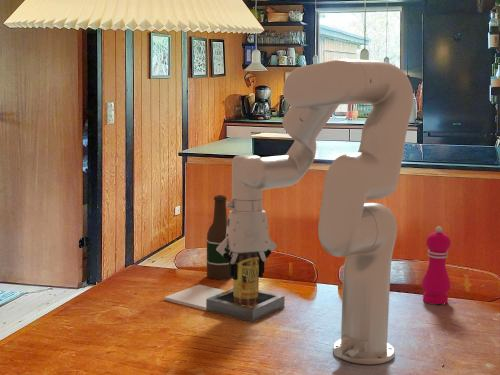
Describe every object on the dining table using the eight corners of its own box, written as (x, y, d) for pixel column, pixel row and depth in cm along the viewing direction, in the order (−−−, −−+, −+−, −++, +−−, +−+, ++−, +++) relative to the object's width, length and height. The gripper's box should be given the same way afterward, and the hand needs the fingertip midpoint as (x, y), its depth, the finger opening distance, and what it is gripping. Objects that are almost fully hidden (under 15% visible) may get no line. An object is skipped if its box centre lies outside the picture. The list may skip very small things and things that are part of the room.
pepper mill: (415, 301, 171) (419, 226, 169) (430, 295, 176) (433, 222, 174) (440, 307, 166) (444, 230, 163) (454, 301, 171) (459, 226, 168)
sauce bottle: (242, 308, 159) (242, 227, 156) (228, 301, 164) (227, 223, 161) (264, 303, 163) (264, 224, 160) (249, 296, 168) (249, 220, 165)
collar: (252, 322, 154) (252, 308, 153) (206, 310, 162) (206, 297, 161) (284, 307, 165) (284, 294, 165) (239, 296, 173) (239, 284, 173)
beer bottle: (222, 271, 198) (222, 192, 194) (238, 277, 192) (239, 196, 188) (201, 275, 193) (201, 195, 189) (217, 281, 187) (217, 198, 183)
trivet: (206, 310, 162) (206, 307, 162) (164, 299, 170) (164, 296, 170) (239, 296, 173) (239, 293, 173) (198, 287, 181) (198, 284, 181)
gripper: (217, 210, 153) (217, 284, 156) (285, 206, 159) (284, 278, 162) (208, 205, 160) (208, 276, 163) (274, 201, 166) (273, 270, 169)
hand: (246, 276), depth 162 cm, fingers closed on sauce bottle, 6 cm apart
